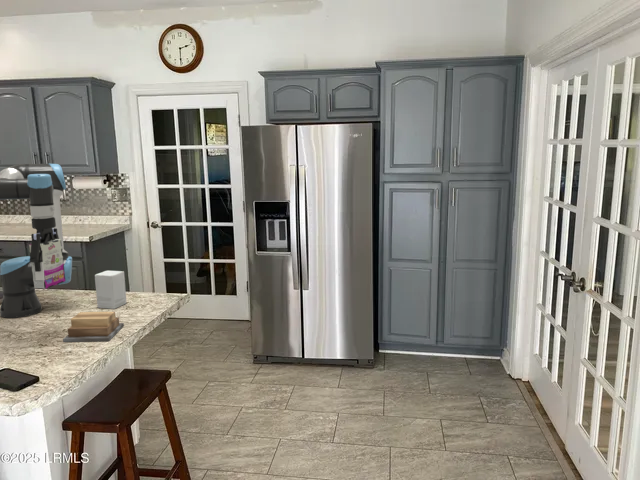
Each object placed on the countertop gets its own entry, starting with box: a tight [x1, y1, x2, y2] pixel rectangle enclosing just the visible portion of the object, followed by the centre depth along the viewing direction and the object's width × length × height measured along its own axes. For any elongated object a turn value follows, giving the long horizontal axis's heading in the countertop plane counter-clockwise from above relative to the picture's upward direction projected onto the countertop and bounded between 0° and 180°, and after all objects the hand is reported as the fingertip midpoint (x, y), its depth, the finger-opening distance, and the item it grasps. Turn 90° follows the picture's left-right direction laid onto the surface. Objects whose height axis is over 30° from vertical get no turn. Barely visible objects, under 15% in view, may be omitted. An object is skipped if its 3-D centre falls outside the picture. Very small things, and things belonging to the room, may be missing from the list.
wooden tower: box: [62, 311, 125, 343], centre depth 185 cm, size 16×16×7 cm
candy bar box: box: [28, 239, 66, 290], centre depth 181 cm, size 11×5×16 cm, turn 170°
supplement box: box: [94, 270, 127, 310], centre depth 219 cm, size 9×9×15 cm
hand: (48, 275), depth 182 cm, fingers closed on candy bar box, 12 cm apart
